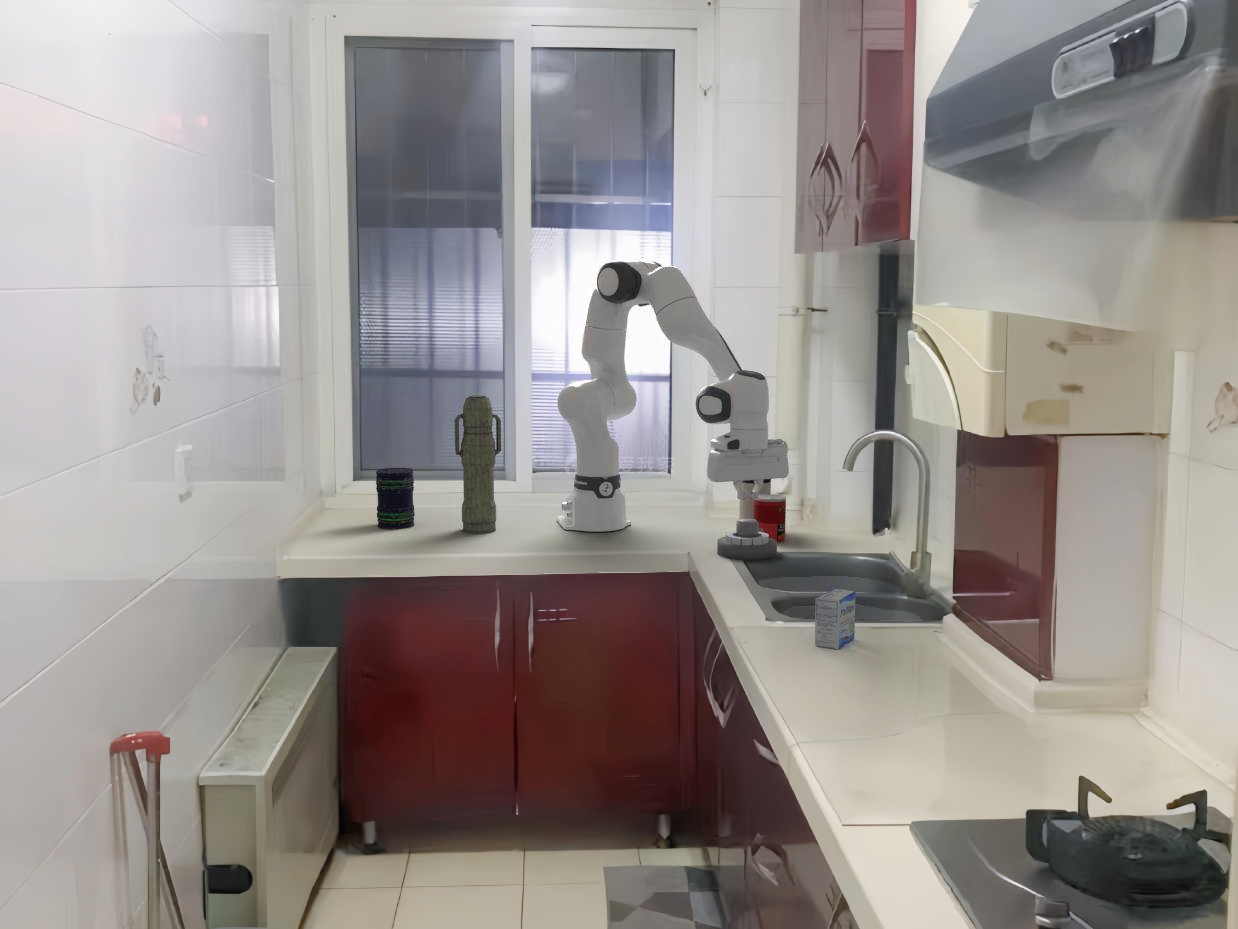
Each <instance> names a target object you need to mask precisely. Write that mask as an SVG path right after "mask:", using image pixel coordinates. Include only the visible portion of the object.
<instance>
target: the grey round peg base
mask: <svg viewBox="0 0 1238 929" xmlns="http://www.w3.org/2000/svg"><path fill="white" fill-rule="evenodd" d="M716 543H717V548H716V549H717V550H716V551H717V552H716V553H717V555H719V556H720V557H723V556H724V558H726V557H727V559H731V558H732V559H733V558H734V559H733V560H740V559H742V560H741V561H743V560H745V561H758V560H768V559H772V558H775V557H777V555H776V554H778V542H777V541H776V540H775V539H772V538H769V534H767V533H764V532H758V537H754V538H743V537H736V530H733V531H728V532H726V533H725V536H721V537H720V538H718V539H717V542H716Z"/></svg>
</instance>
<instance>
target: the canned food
mask: <svg viewBox="0 0 1238 929" xmlns="http://www.w3.org/2000/svg"><path fill="white" fill-rule="evenodd" d="M786 511H787V498H786V496H784V495H781V494H773V493H772V494H761V495H759V498H758V499H754V519H755V520H757V521H758V522H759V526H758V532H764V533H767V534H769V538H772V539H775V540H776V541H777V543H782V542H784V541H785V539H786V520H787V519H786V516H787V515H786V514H787V512H786Z"/></svg>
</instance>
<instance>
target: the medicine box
mask: <svg viewBox="0 0 1238 929" xmlns="http://www.w3.org/2000/svg"><path fill="white" fill-rule="evenodd" d="M814 607H815V609H814V610H815V611H814V612H815V614H814V618H815V621H814V645H815V646H816V647H819V648H820V647H821V648H826V649H833V650H837V651H838V650H839V651H840V649H842V648H843V647H844V646H845V645H847V644H848V643H850V642H851V641H852V640H854V639H855V632H856V631H855V629H856V628H855V627H856V625H855V624H856V623H855V622H856V619H855V618H856V591H854V590H848V589H847V590H846V589H839V588H833V589H830V590H828V591H827V592H825V593H823V594H821V595H820V596H818V597H816V598H815V606H814Z"/></svg>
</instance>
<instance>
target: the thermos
mask: <svg viewBox="0 0 1238 929" xmlns="http://www.w3.org/2000/svg"><path fill="white" fill-rule="evenodd" d="M464 399H465V400H464V403H463V406H462V413H460V414H457V416H456V417H455V419H454V451H455V455H456V456H460V459H461V460H460V461H461V462H460V463H461V465H462V469H463V470H462V472H463V473H462V475H463V476H462V478H463V502H462V504H461V522H462V532H464V533H466V534H467V533H468V534H490V533H494V532H496V530H497V528H496V522H497V505H496V502H495V501H496V500H495V483H494V482H495V481H494V480H495V476H494V475H495V474H494V473H495V472H494V468H495V464H496V456H497V455H499V454H500V453H501V451H502V419H501V418H500V417H499V416H498V414H496V413H495V414H494V413H493V406H492V402H491V399H490V397H488V396H487V395H468V397H465V398H464ZM461 419H462V427H463V432H462V433H463V434H462V435H463V436H462V440H461V443H460V420H461ZM493 419H495V425H496V426H495V428H496V429H495V430H496V432H495V434H496V435H495V436H496V438H495V437H494V434H493V433H494V432H493V422H494V421H493ZM494 438H495V439H494ZM495 440H496V441H495Z"/></svg>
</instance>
